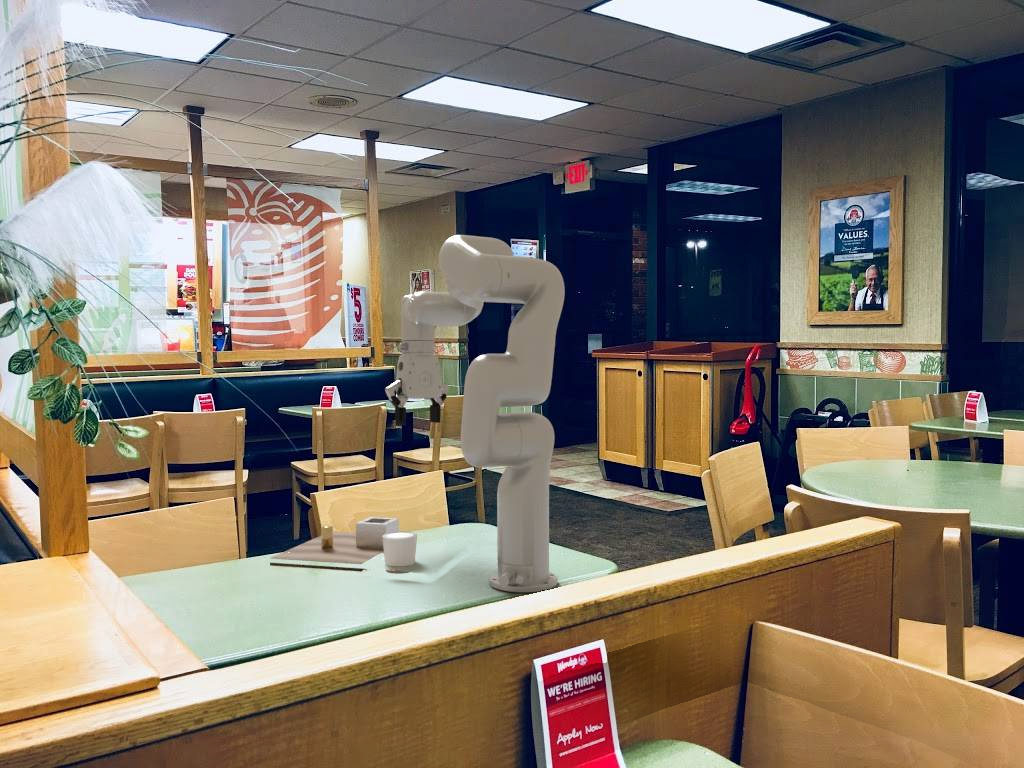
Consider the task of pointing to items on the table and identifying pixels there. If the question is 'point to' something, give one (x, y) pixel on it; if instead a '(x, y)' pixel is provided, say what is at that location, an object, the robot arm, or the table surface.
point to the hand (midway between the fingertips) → (418, 423)
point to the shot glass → (399, 549)
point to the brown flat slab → (330, 553)
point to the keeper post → (326, 537)
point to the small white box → (374, 531)
